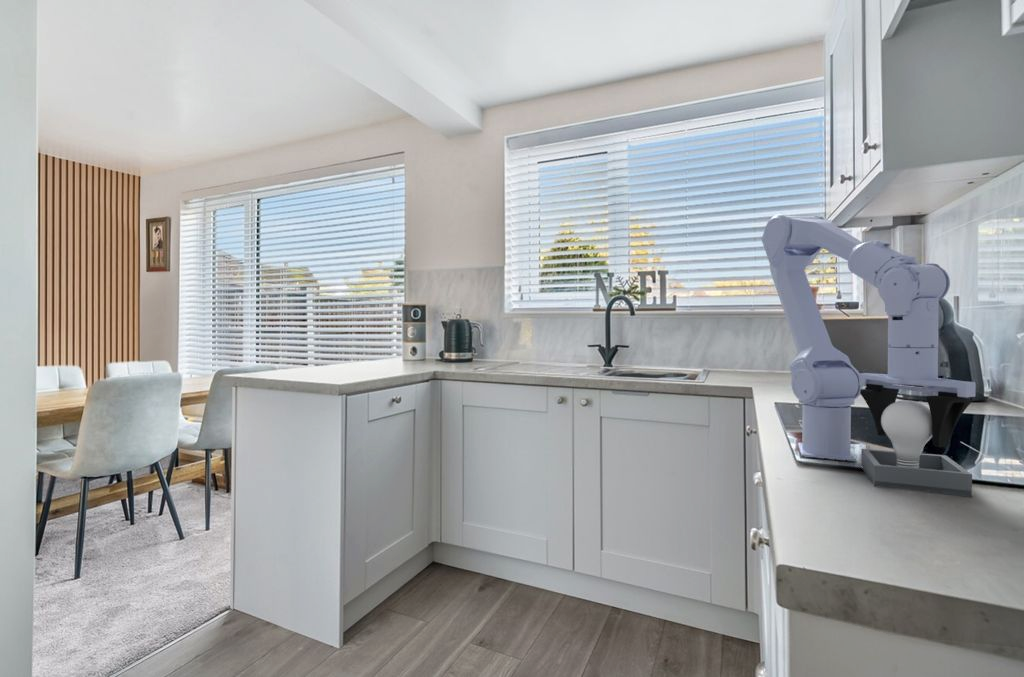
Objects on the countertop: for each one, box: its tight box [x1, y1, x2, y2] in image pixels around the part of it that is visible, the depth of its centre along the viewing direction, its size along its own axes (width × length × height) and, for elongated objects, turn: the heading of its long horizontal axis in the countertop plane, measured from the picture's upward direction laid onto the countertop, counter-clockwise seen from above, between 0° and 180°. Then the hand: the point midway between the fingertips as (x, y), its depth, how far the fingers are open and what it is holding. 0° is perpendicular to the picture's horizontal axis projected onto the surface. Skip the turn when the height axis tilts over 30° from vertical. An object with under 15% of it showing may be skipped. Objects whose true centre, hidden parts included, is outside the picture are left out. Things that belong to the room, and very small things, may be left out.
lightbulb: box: [881, 399, 932, 468], centre depth 73 cm, size 6×6×11 cm
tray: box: [860, 448, 973, 498], centre depth 74 cm, size 11×11×3 cm
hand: (911, 440), depth 74 cm, fingers open, 7 cm apart
